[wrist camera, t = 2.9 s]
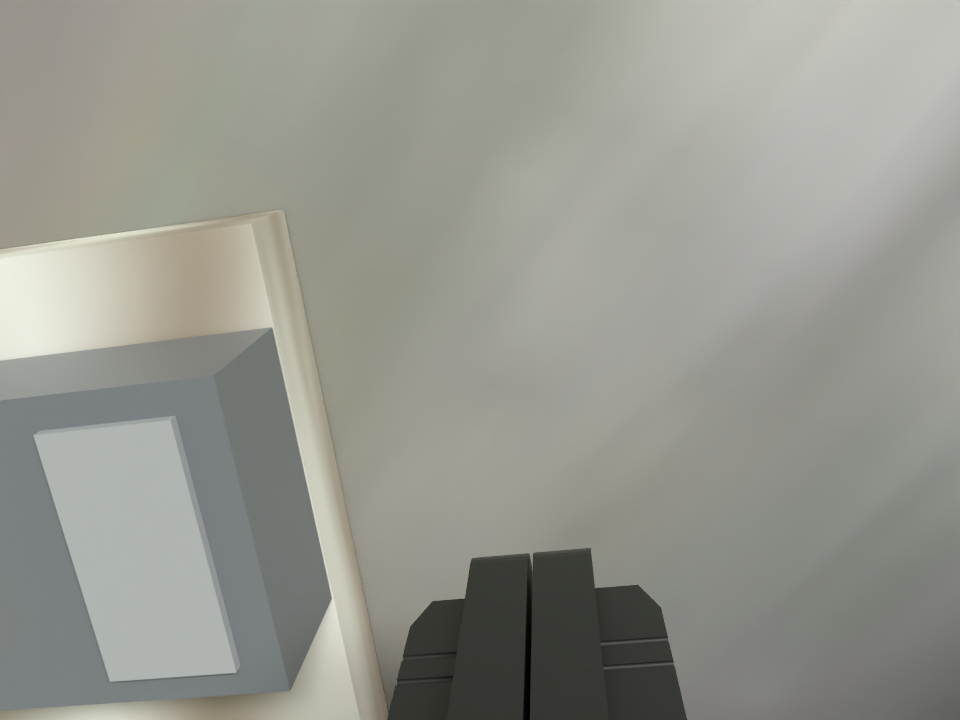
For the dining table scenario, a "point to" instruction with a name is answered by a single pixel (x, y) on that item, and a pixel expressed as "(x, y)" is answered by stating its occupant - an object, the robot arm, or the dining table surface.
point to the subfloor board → (190, 313)
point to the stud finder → (153, 525)
